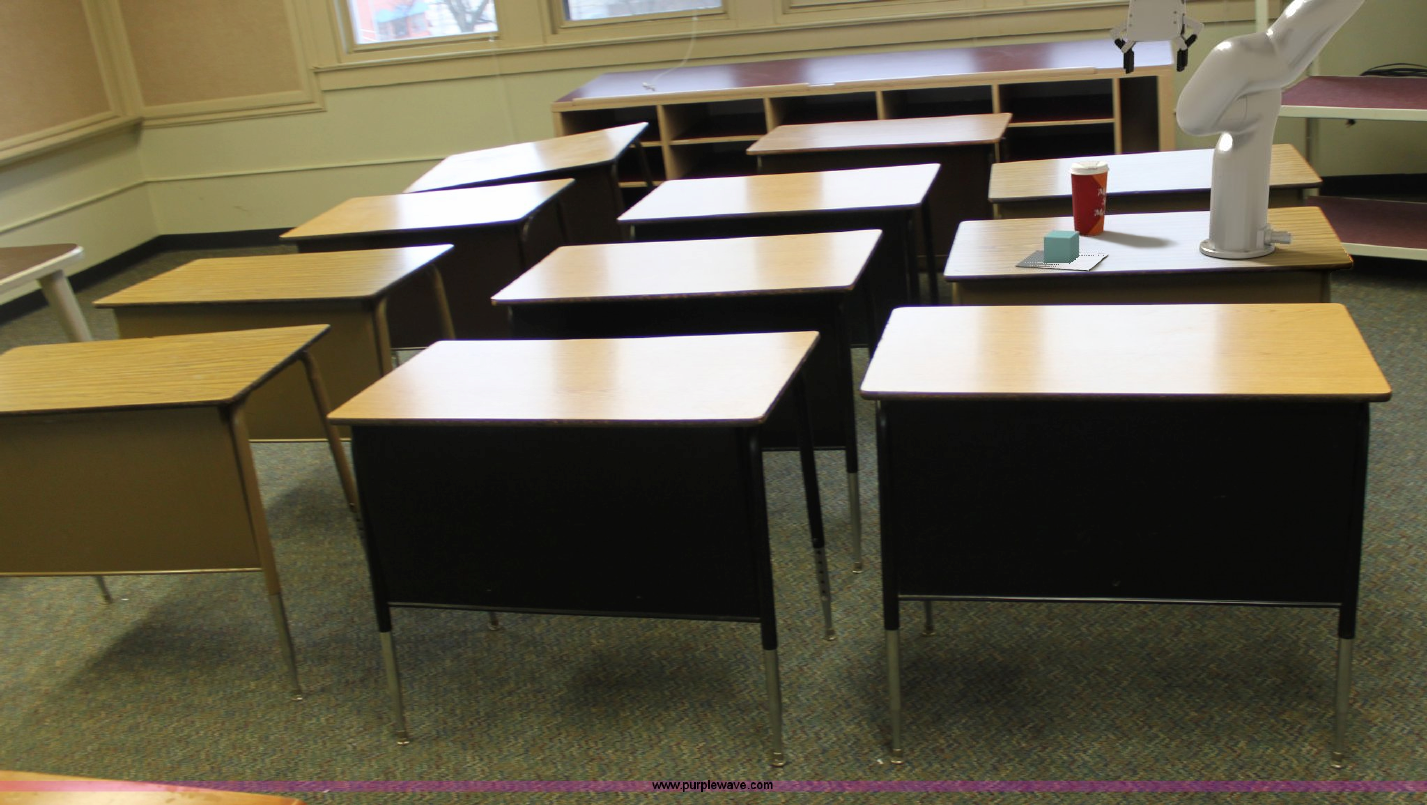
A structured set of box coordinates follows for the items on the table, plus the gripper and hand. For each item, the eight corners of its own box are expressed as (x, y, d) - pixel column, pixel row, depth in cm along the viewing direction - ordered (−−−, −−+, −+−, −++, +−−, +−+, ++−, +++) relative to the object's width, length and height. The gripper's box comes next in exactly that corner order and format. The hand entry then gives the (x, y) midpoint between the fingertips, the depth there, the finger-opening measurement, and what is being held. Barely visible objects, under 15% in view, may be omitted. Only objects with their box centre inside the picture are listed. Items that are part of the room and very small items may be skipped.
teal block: (1079, 256, 215) (1079, 231, 213) (1069, 264, 211) (1069, 238, 210) (1053, 255, 218) (1053, 230, 216) (1043, 262, 214) (1043, 236, 213)
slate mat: (1108, 255, 215) (1108, 254, 215) (1088, 271, 207) (1088, 270, 207) (1036, 251, 223) (1036, 250, 223) (1015, 266, 215) (1015, 265, 215)
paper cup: (1111, 235, 227) (1111, 166, 222) (1071, 238, 229) (1071, 169, 223) (1106, 226, 234) (1107, 158, 229) (1067, 228, 236) (1067, 161, 230)
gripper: (1210, -28, 211) (1206, 67, 218) (1117, -20, 221) (1116, 70, 228) (1200, -24, 206) (1196, 73, 212) (1104, -16, 216) (1103, 76, 222)
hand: (1154, 71), depth 220 cm, fingers open, 9 cm apart
